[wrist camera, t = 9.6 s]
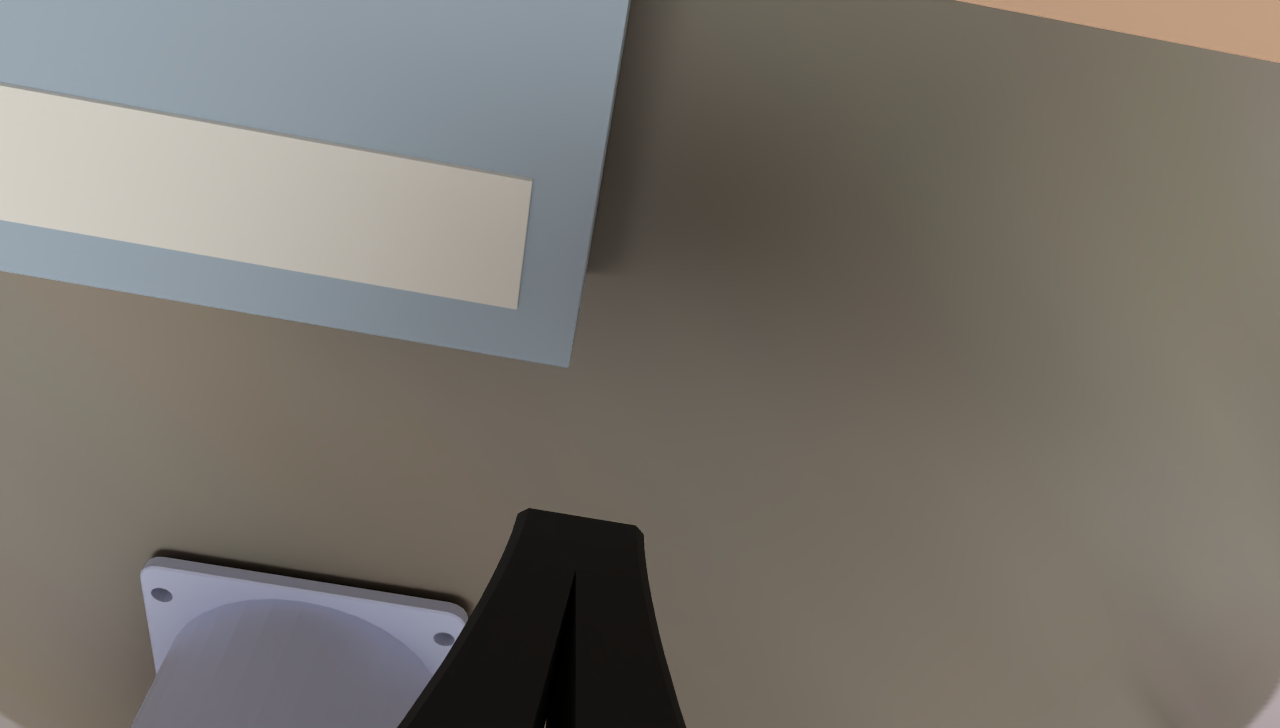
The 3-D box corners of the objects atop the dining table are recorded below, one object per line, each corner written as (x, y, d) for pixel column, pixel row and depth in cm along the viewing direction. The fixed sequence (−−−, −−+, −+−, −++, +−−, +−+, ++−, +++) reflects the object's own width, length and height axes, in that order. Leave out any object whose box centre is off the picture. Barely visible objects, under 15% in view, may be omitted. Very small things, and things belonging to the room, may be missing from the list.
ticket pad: (585, 275, 21) (566, 375, 19) (-97, 155, 20) (-213, 241, 18) (647, -99, 17) (633, -35, 14) (-209, -266, 16) (-383, -231, 14)
